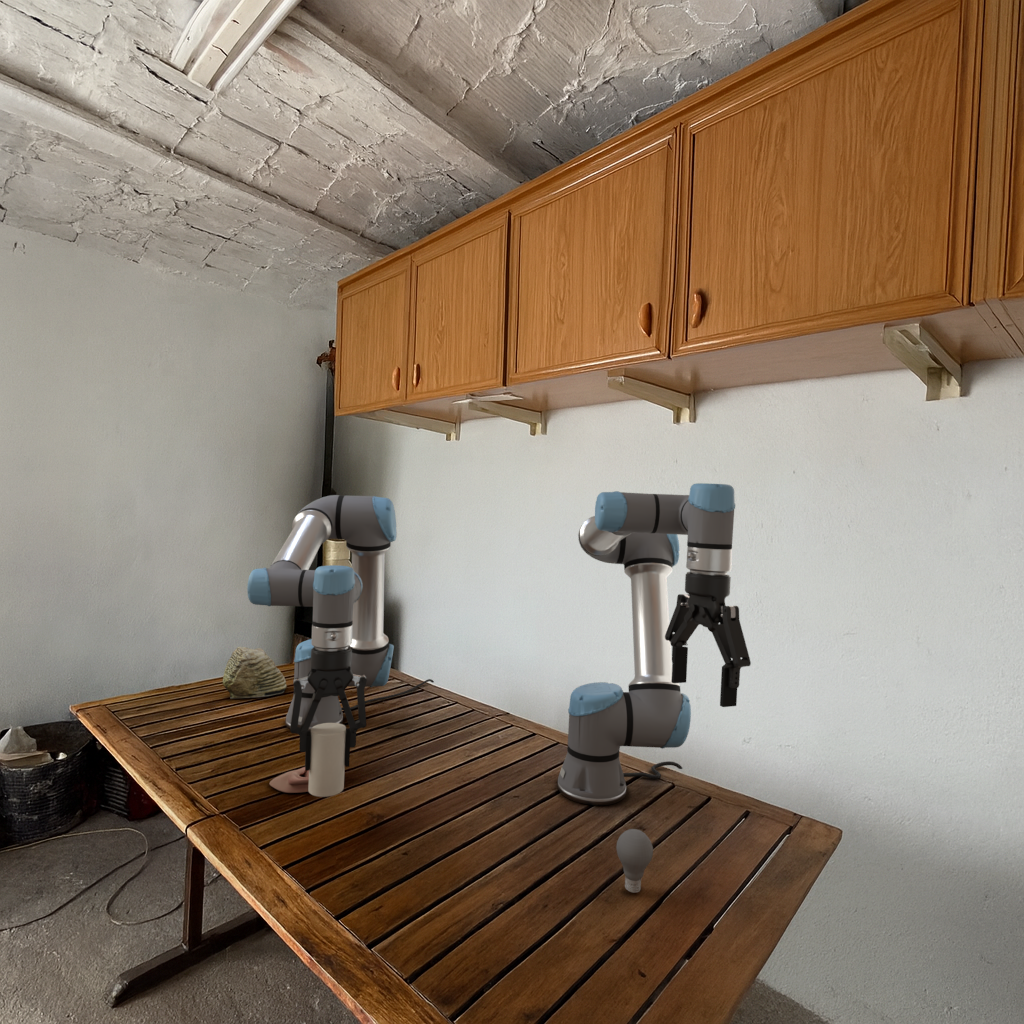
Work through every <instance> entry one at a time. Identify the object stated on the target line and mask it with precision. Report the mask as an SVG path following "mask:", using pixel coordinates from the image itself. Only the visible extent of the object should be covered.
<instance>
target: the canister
mask: <svg viewBox="0 0 1024 1024" xmlns="http://www.w3.org/2000/svg"><path fill="white" fill-rule="evenodd" d="M346 728H347V726H346V725H345V724H343V723H341V724H339V723H323V724H318V725H316V726H314V727H312V728H311V732H310V733H311V743H310V769H309V786H308V791H309V792H308V793H309V794H310V795H312V796H314V797H317V798H318V797H319V798H328V797H333V796H336V795H339V794H340V793H342V792H343V791H344V788H345V769H346V767H345V747H346Z"/></svg>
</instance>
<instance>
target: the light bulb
mask: <svg viewBox="0 0 1024 1024" xmlns="http://www.w3.org/2000/svg"><path fill="white" fill-rule="evenodd" d="M615 849H616V854H617V857H618V859H619V861H620V863H621V865H622V867H623V873H624V874H623V875H624V876H625V878H624V888H625V890H627V891H628V892H630V893H634V894H635V893H639V892H640V891H641V889H642V887H641V886H642V879H643V877H644V875H645V871H646V868H647V867H648V866H649V864H650V863H651V861H652V859H653V855H654V847H653V843H652V841H651V838H649V836H648V835H647V834H646V833H645V832H643V831H642V830H641V829H636V828H629V829H627V830H625V831H623V832H622V833H621V834H620V835H619V837H618V839H617V841H616V847H615Z"/></svg>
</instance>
